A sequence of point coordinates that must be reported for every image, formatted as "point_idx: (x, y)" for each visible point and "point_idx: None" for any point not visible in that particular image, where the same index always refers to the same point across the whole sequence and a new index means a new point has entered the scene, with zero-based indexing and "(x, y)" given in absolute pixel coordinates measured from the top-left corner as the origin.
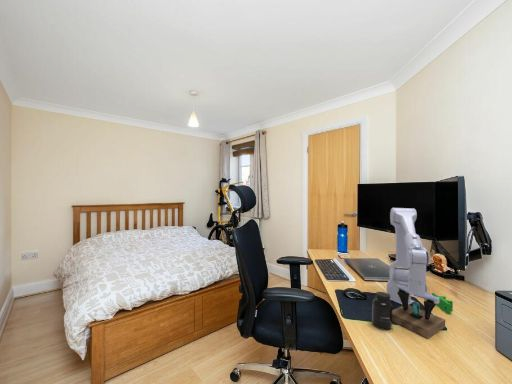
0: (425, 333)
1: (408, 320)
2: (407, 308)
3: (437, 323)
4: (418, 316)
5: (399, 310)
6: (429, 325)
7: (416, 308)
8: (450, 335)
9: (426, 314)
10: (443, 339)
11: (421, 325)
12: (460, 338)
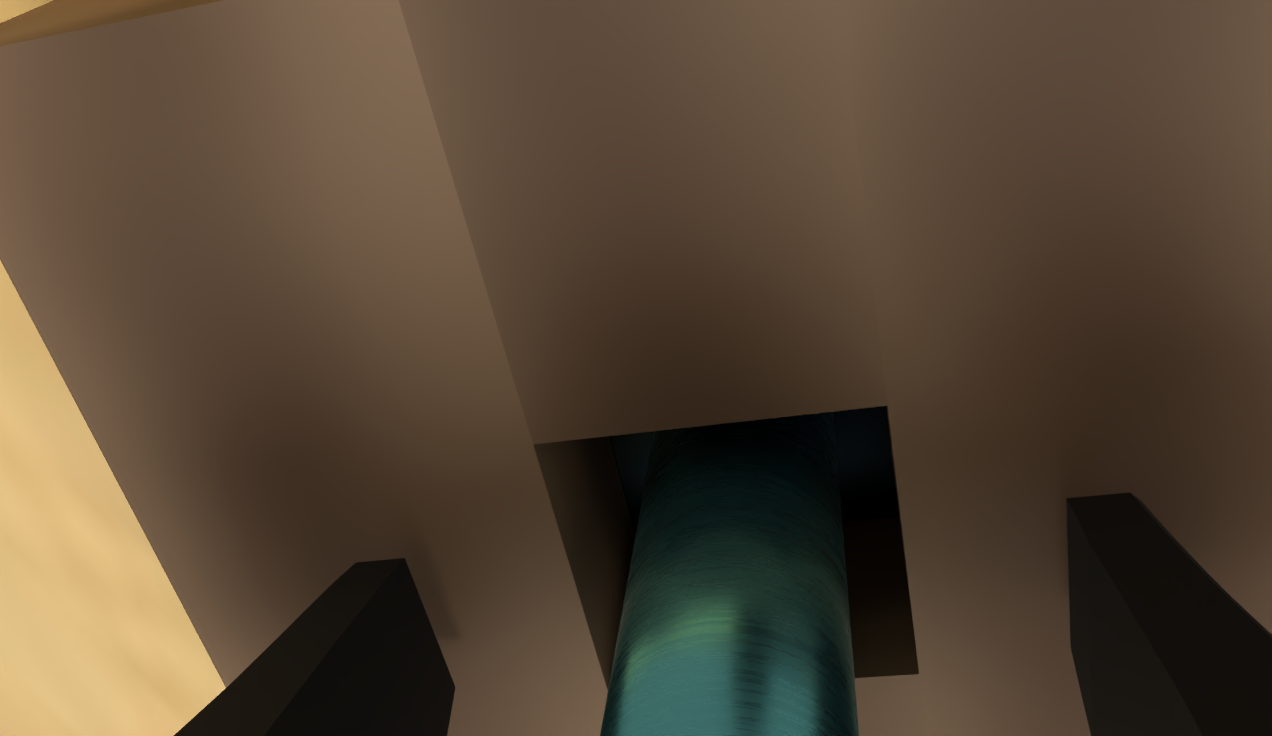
0: (55, 17)
1: (580, 10)
2: (1080, 663)
3: (234, 671)
4: (632, 562)
5: (1259, 396)
6: (164, 394)
7: (622, 733)
8: (160, 616)
9: (257, 680)
10: (33, 352)
11: (199, 159)
12: (55, 670)
